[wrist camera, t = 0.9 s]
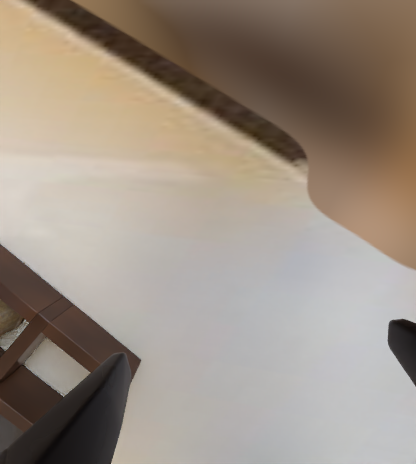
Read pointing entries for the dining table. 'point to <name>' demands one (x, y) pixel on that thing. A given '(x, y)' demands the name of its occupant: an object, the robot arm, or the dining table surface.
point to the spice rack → (43, 325)
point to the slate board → (7, 433)
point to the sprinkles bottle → (8, 318)
